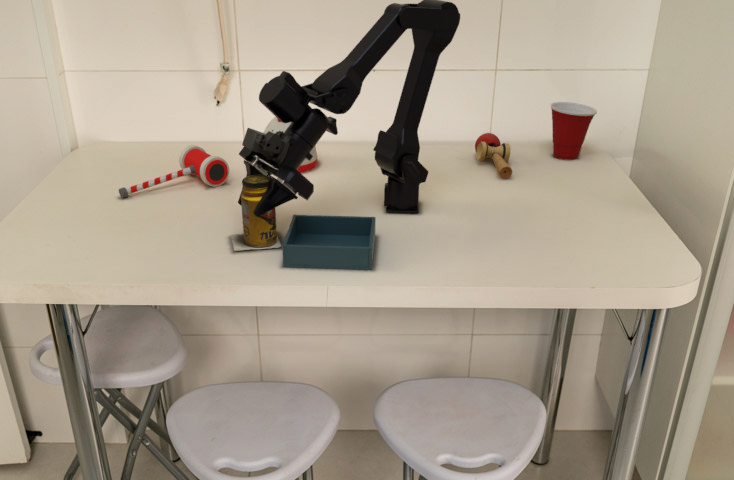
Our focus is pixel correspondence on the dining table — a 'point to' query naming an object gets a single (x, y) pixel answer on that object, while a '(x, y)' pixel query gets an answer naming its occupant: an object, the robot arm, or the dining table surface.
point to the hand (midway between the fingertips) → (247, 209)
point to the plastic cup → (570, 128)
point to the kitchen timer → (277, 126)
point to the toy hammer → (190, 170)
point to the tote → (330, 242)
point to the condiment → (255, 228)
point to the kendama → (494, 153)
